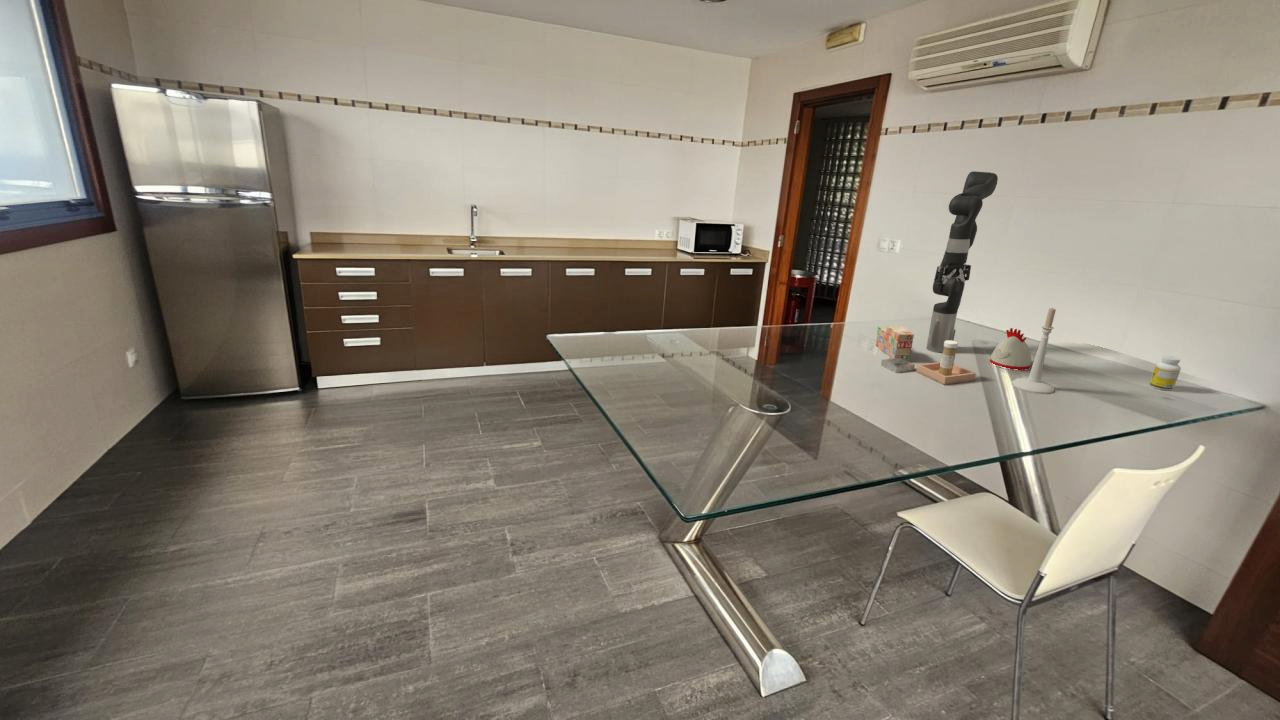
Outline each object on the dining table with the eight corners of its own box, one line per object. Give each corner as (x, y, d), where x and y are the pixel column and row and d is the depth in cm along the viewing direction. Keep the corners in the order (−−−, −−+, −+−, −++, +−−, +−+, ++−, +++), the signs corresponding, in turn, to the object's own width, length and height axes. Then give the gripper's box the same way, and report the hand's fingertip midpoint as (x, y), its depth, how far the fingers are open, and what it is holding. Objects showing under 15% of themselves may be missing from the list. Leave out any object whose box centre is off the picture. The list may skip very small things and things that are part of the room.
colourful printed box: (875, 346, 243) (878, 319, 239) (889, 345, 243) (893, 319, 239) (894, 362, 223) (898, 333, 219) (909, 362, 223) (914, 333, 219)
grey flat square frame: (898, 363, 221) (899, 357, 220) (913, 370, 213) (914, 364, 213) (880, 365, 219) (881, 359, 218) (895, 372, 211) (896, 366, 210)
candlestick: (1063, 392, 191) (1085, 311, 181) (1031, 395, 189) (1052, 313, 179) (1033, 379, 203) (1052, 302, 193) (1003, 381, 201) (1021, 304, 191)
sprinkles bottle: (943, 371, 210) (949, 339, 205) (954, 375, 206) (961, 342, 202) (935, 373, 208) (941, 340, 203) (946, 377, 204) (953, 344, 200)
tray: (945, 368, 215) (946, 361, 214) (974, 380, 203) (976, 373, 202) (916, 372, 212) (917, 364, 211) (944, 384, 199) (945, 377, 198)
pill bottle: (1159, 383, 198) (1169, 354, 194) (1178, 390, 192) (1189, 360, 188) (1144, 385, 197) (1154, 355, 193) (1163, 391, 191) (1173, 361, 187)
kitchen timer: (1006, 357, 227) (1014, 323, 222) (1038, 368, 214) (1047, 332, 209) (981, 361, 223) (989, 326, 218) (1012, 372, 210) (1021, 336, 205)
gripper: (964, 248, 209) (956, 289, 215) (934, 250, 206) (927, 291, 211) (980, 250, 202) (972, 293, 208) (949, 252, 199) (941, 295, 204)
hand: (949, 292), depth 210 cm, fingers open, 8 cm apart
